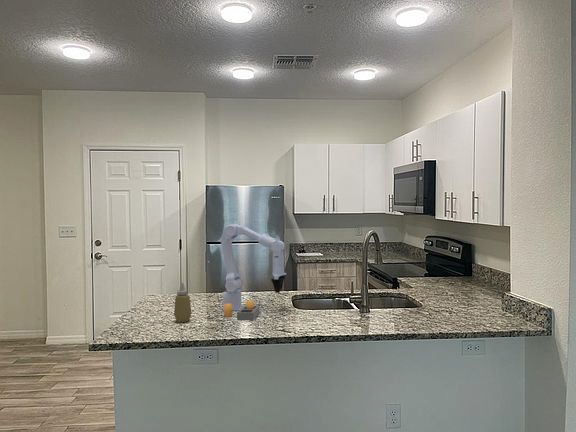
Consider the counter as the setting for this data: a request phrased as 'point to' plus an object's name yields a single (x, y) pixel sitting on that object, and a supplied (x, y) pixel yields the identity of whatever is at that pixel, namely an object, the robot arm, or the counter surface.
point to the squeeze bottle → (182, 305)
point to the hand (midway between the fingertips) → (278, 291)
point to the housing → (248, 311)
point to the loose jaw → (227, 310)
